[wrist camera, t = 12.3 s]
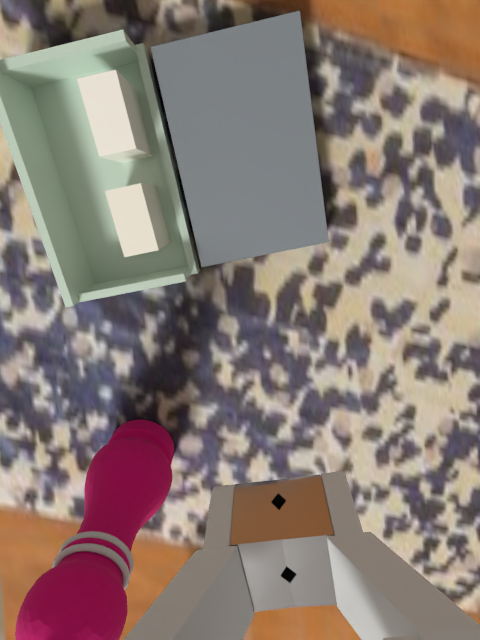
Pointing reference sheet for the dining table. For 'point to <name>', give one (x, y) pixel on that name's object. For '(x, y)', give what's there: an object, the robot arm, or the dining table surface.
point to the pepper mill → (102, 540)
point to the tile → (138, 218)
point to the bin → (90, 168)
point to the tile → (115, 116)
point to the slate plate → (244, 138)
